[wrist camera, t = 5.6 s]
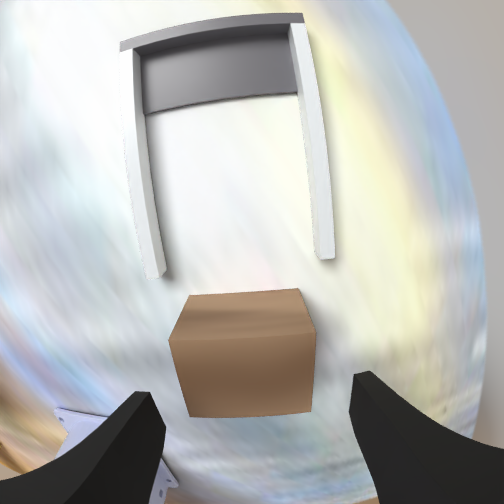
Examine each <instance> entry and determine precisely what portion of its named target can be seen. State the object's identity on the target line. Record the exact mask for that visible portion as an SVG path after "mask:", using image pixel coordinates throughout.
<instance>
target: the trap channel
mask: <svg viewBox="0 0 504 504" xmlns="http://www.w3.org/2000/svg"><path fill="white" fill-rule="evenodd" d="M280 93H297V94H298V101H299V107H300V114H301V121H302V128H303V136H304V144H305V152H306V161H307V170H308V179H309V189H310V200H311V211H312V224H313V238H314V252H315V253H316V255H317V256H318V257H319V258H320V259H321V260H324V259H332V258H335V243H334V224H333V209H332V196H331V185H330V174H329V164H328V155H327V147H326V139H325V131H324V124H323V117H322V110H321V103H320V97H319V91H318V85H317V80H316V74H315V69H314V63H313V58H312V53H311V49H310V44H309V39H308V35H307V30H306V26H305V22H304V18H303V14H302V13H267V14H251V15H240V16H231V17H223V18H216V19H210V20H204V21H198V22H193V23H188V24H183V25H178V26H174V27H170V28H166V29H162V30H158V31H154V32H150V33H147V34H144V35H140V36H137V37H134V38H131V39H128V40H125V41H122V42H120V98H121V116H122V130H123V141H124V151H125V161H126V169H127V177H128V184H129V191H130V198H131V204H132V210H133V216H134V222H135V227H136V233H137V238H138V243H139V248H140V253H141V257H142V262H143V266H144V271H145V275H146V279H147V280H148V279H158V278H160V277H161V276H162V275H163V274H164V272H165V271H166V270H167V266H166V261H165V256H164V251H163V246H162V241H161V235H160V230H159V224H158V218H157V212H156V206H155V200H154V193H153V186H152V179H151V171H150V163H149V155H148V146H147V136H146V125H145V115H146V114H150V113H155V112H159V111H163V110H168V109H172V108H177V107H182V106H187V105H192V104H198V103H203V102H209V101H216V100H222V99H230V98H237V97H246V96H255V95H266V94H280Z"/></svg>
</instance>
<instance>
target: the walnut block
mask: <svg viewBox="0 0 504 504" xmlns="http://www.w3.org/2000/svg"><path fill="white" fill-rule="evenodd" d="M168 341H169V345H170V349H171V353H172V357H173V361H174V365H175V368H176V372H177V376H178V379H179V383H180V386H181V390H182V393H183V397H184V400H185V403H186V407H187V410H188V413H189V416H190V417H202V418H236V417H260V416H275V415H286V414H296V413H305V412H311V406H312V394H313V380H314V365H315V347H316V331H315V328H314V326H313V323H312V321H311V318H310V316H309V313H308V311H307V308H306V306H305V303H304V301H303V298H302V296H301V294H300V291H299V289H298V288H296V289H283V290H270V291H256V292H241V293H224V294H206V295H189V297H188V299H187V301H186V303H185V305H184V308H183V310H182V312H181V314H180V316H179V318H178V320H177V322H176V325H175V327H174V329H173V331H172V333H171V335H170V337H169V340H168Z"/></svg>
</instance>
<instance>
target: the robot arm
mask: <svg viewBox="0 0 504 504" xmlns="http://www.w3.org/2000/svg"><path fill="white" fill-rule="evenodd" d="M54 414H55V415H56V417H57V418H58V420H59V421H60V423H61V424H62V426H63V427H64V428H65V430H66V431H67V433H68V435H67V437H66V439H65V440H64V442H63V444H62V446H61V447H60V449H59V451H58V453H57V455H56V456H55V458H54V460H53V461H51V462H49V463H47V464H45V465H43V466H42V467H40V468H37V469H35V470H33V471H30V472H28V473H25V474H23V475H20V476H17V477H14V478H10V479H6V480H1V481H0V504H164V502H165V498H166V493H167V488H168V487H171V488H177V487H178V485H179V484H178V482H177V481H176V479H175V478H174V476H173V475H172V473H171V472H170V470H169V469H168V467H167V466H166V464H165V463H164V461H163V460H162V458H161V456H162V453H163V448H164V441H165V433H166V426H165V424H164V422H163V419H162V417H161V415H160V413H159V411H158V409H157V407H156V405H155V402H154V400H153V398H152V396H151V394H150V392H139V391H135V392H134V393H133V394H132V395H131V396H130V397H129V398H128V399H127V400H126V401H125V402H124V403H122V404H121V405H120V406H119V407H118V408H117V409H116V410H115V411H114V412H113V413H112V414H111V415H110V416H109V417H102V416H96V415H90V414H84V413H79V412H74V411H69V410H64V409H60V408H56V409H55V410H54ZM349 414H350V418H351V422H352V426H353V430H354V434H355V437H356V439H357V442H358V444H359V447H360V449H361V451H362V454H363V456H364V459H365V461H366V464H367V466H368V469H369V471H370V474H371V476H372V479H373V481H374V484H375V487H376V491H377V495H378V499H379V503H380V504H504V449H501V448H497V447H493V446H489V445H486V444H483V443H480V442H477V441H475V440H472V439H470V438H467V437H464V436H462V435H460V434H458V433H456V432H454V431H452V430H450V429H448V428H446V427H444V426H442V425H440V424H439V423H437V422H435V421H434V420H432V419H431V418H429V417H428V416H426V415H425V414H423V413H422V412H420V411H419V410H417V409H416V408H415V407H413V406H412V405H411V404H409V403H408V402H407V401H406V400H404V399H403V398H402V397H400V396H399V395H398V394H397V393H396V392H394V391H393V390H392V389H391V388H390V387H388V386H387V385H386V384H385V383H384V382H383V381H381V380H380V379H379V378H378V377H377V376H376V375H375V374H373V373H372V372H371V371H366V372H362V373H358V374H354V376H353V385H352V393H351V401H350V408H349Z"/></svg>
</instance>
